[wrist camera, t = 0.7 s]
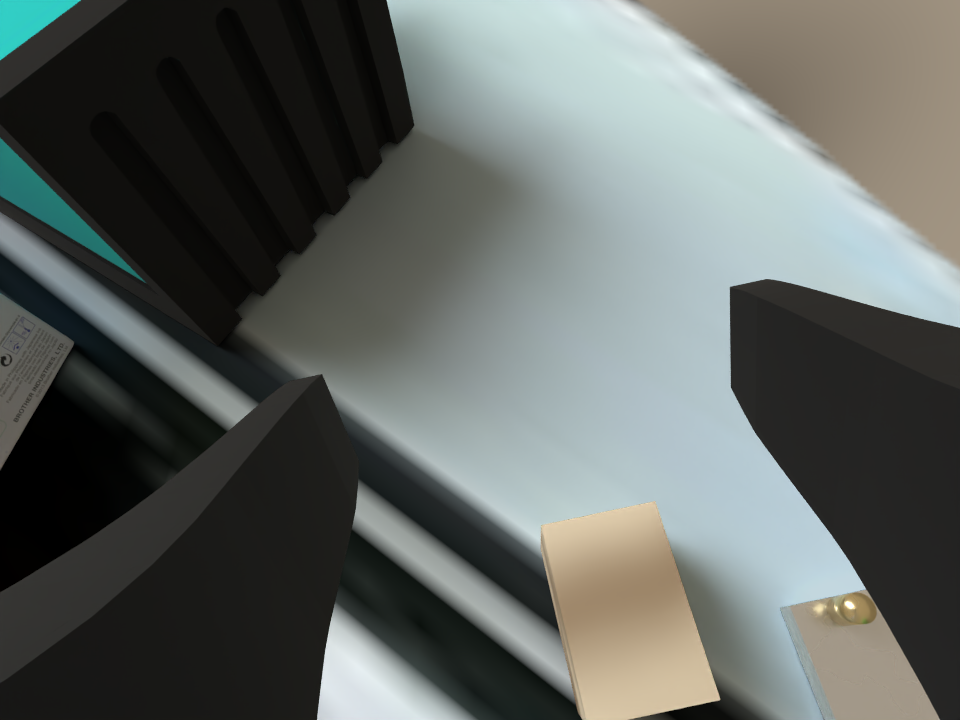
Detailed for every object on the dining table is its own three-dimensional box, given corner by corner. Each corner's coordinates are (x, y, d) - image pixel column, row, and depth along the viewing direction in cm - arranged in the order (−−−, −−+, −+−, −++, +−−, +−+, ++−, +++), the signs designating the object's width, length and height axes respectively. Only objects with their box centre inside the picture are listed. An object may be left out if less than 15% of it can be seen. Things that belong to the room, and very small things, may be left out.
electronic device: (479, 63, 39) (448, -247, 25) (225, 352, 30) (-22, 114, 17) (213, -27, 47) (82, -300, 33) (-49, 182, 38) (-364, -71, 25)
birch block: (683, 690, 22) (720, 700, 17) (578, 713, 22) (588, 727, 17) (633, 528, 24) (655, 501, 20) (540, 548, 24) (541, 525, 20)
